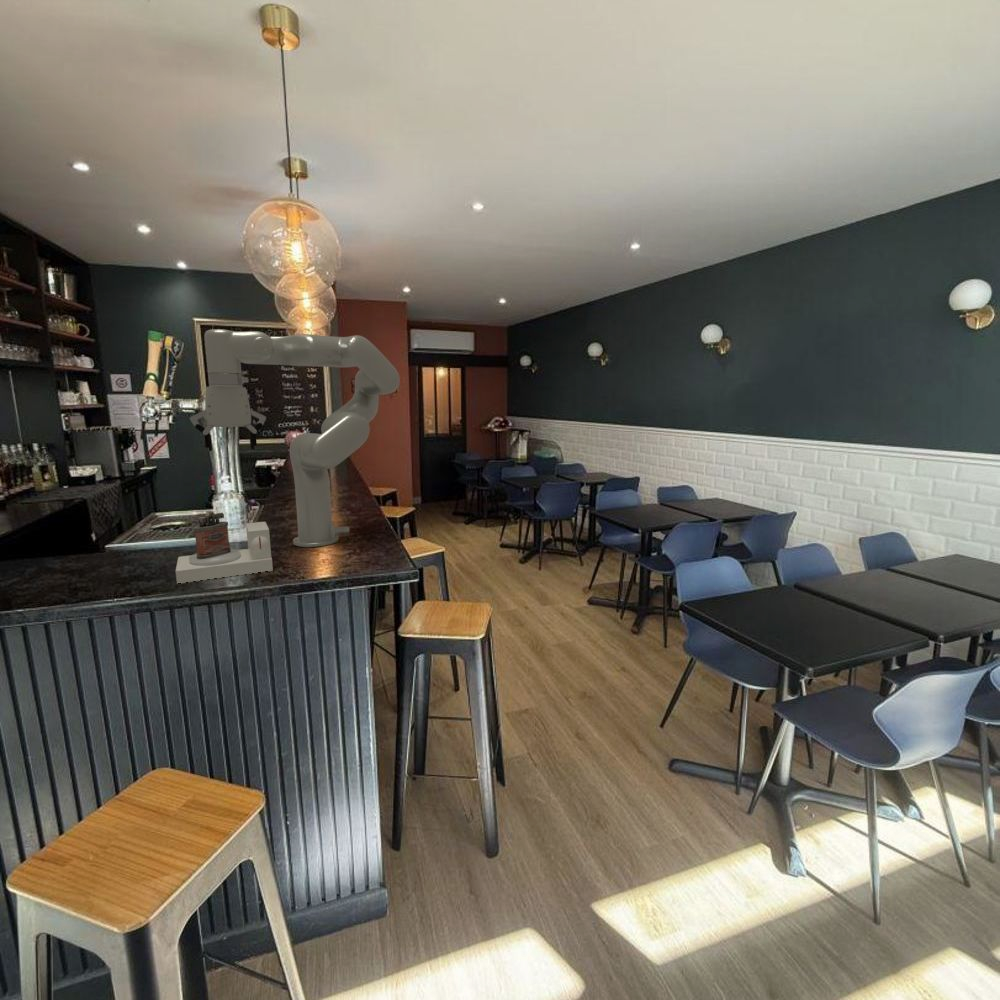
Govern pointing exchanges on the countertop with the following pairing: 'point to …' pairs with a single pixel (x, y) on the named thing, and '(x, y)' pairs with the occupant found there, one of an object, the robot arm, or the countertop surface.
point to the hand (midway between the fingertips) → (231, 449)
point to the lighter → (211, 536)
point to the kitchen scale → (230, 559)
